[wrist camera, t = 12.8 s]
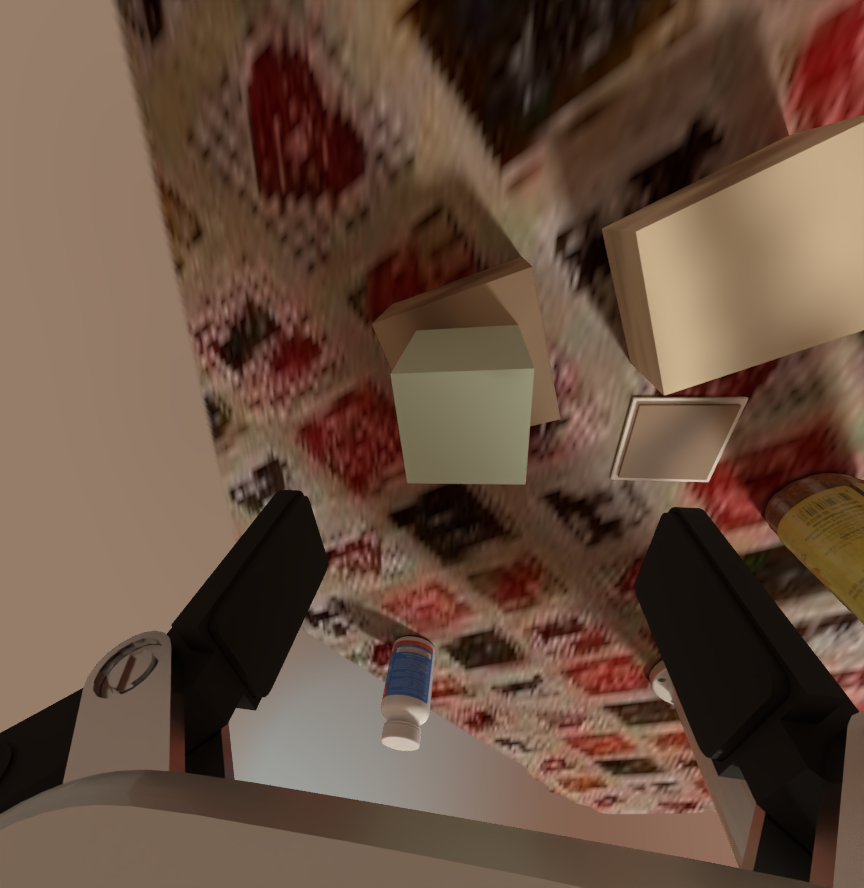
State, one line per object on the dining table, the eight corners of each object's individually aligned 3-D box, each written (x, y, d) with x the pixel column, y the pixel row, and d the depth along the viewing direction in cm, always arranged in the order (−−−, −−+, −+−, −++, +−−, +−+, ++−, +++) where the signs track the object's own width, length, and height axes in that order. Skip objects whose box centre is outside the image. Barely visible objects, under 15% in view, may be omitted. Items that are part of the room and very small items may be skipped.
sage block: (518, 324, 17) (534, 368, 12) (513, 416, 19) (525, 484, 14) (416, 330, 17) (390, 373, 12) (425, 418, 20) (407, 483, 15)
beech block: (785, 136, 16) (895, 106, 12) (784, 304, 19) (868, 328, 15) (600, 228, 18) (635, 231, 14) (629, 361, 22) (664, 395, 18)
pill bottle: (387, 635, 43) (366, 732, 35) (428, 633, 42) (416, 734, 34) (401, 658, 46) (384, 752, 38) (440, 657, 44) (432, 755, 36)
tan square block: (520, 256, 19) (532, 266, 15) (545, 383, 23) (560, 419, 19) (392, 303, 22) (371, 324, 18) (434, 412, 26) (426, 450, 21)
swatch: (746, 396, 22) (751, 399, 22) (706, 480, 26) (710, 484, 25) (632, 397, 23) (635, 400, 23) (610, 477, 27) (611, 481, 26)
